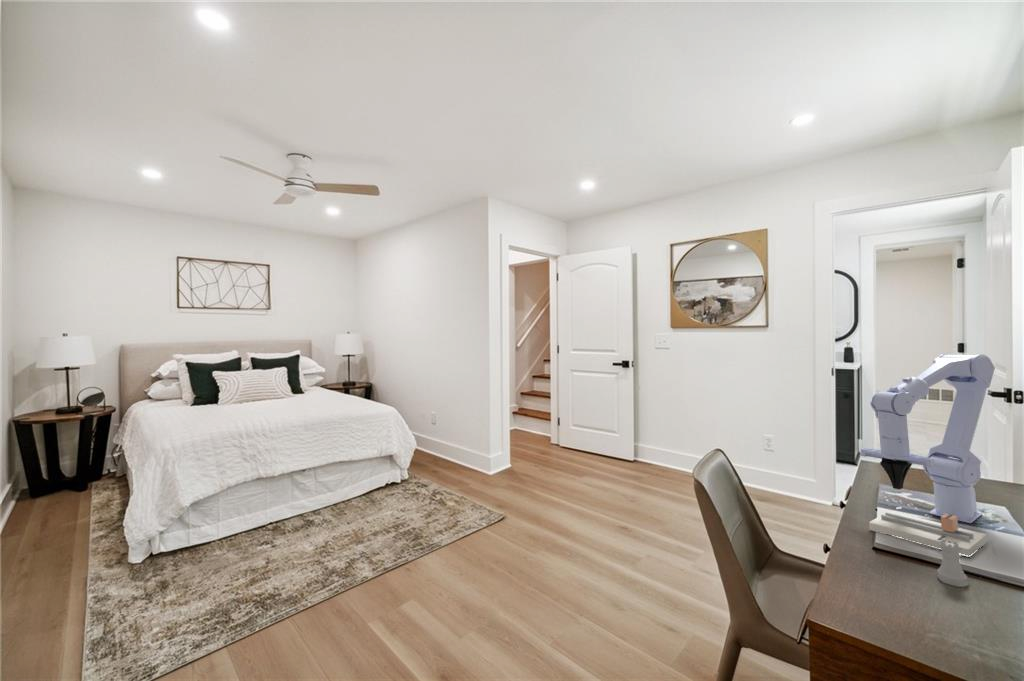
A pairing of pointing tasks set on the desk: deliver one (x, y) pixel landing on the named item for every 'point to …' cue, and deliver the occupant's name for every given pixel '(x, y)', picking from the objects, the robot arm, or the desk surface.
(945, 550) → the rook chess piece
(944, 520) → the fader
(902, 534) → the white slider track board
